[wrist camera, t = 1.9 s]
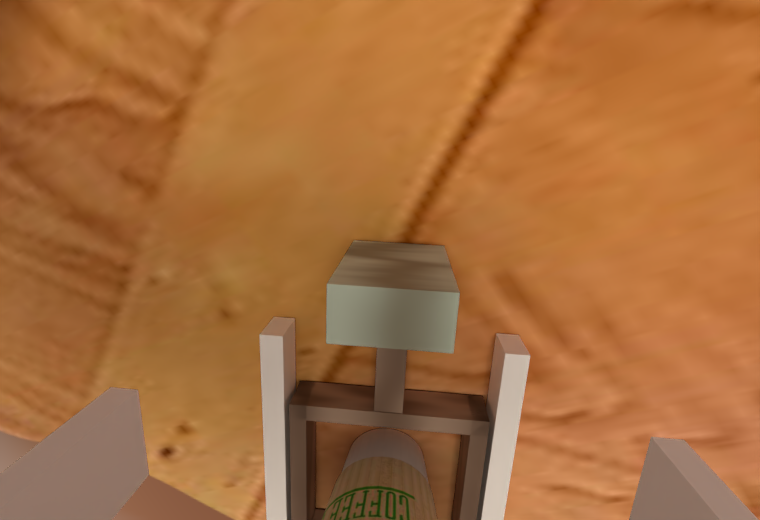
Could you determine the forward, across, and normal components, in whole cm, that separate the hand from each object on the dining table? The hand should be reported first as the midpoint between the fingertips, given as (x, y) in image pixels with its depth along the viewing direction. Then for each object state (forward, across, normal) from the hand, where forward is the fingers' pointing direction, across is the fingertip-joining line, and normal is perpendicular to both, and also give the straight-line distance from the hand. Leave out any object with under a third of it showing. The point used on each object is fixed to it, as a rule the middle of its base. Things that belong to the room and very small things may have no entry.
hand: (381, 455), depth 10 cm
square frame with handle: (+18, 0, -11) cm, 21 cm away
